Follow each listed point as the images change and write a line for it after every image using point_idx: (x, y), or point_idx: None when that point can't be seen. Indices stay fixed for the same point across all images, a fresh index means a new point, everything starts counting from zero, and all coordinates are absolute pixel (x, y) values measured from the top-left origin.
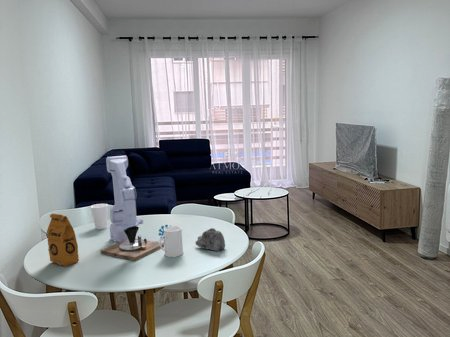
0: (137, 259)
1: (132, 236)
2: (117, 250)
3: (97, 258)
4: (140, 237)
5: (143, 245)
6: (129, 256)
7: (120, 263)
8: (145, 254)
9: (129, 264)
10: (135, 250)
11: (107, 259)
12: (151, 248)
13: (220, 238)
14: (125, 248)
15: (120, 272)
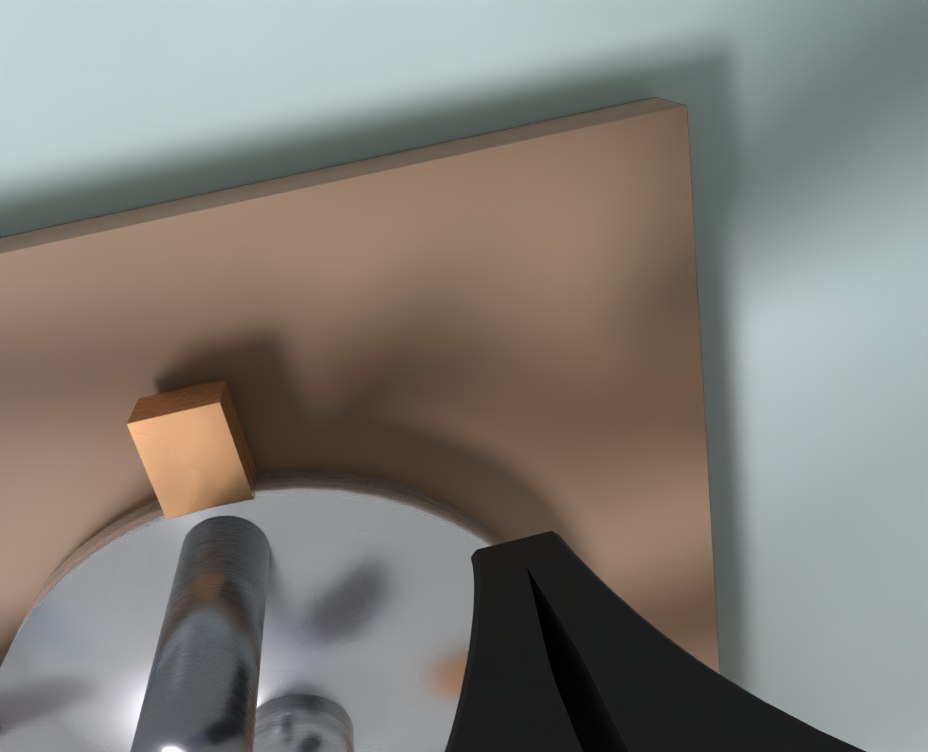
0: (576, 115)
1: (665, 655)
2: None
3: (872, 689)
4: (191, 684)
5: (140, 526)
6: (693, 274)
7: (881, 230)
8: (307, 178)
9: (847, 21)
10: (386, 478)
11: (839, 559)
12: (24, 304)
13: None
14: None
15: None
